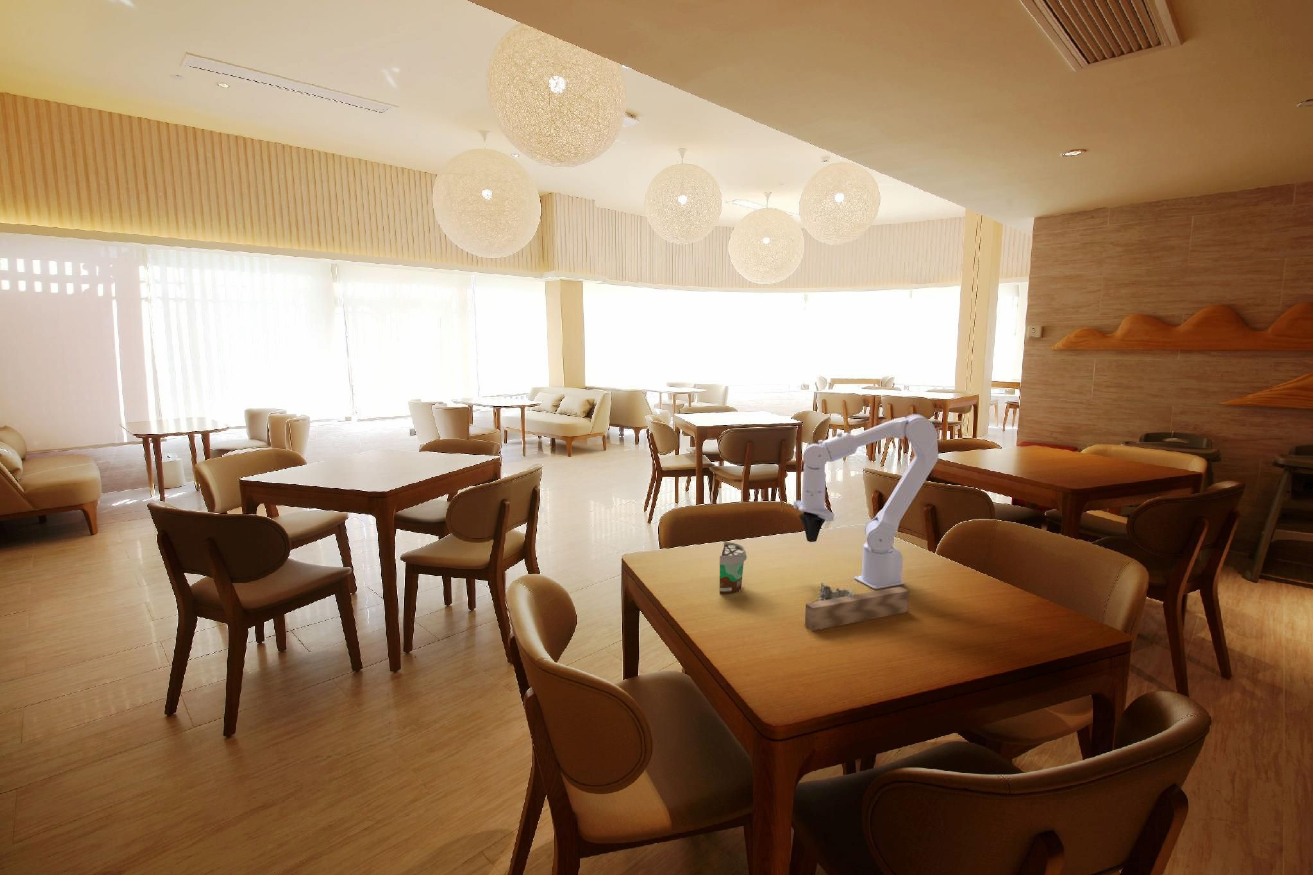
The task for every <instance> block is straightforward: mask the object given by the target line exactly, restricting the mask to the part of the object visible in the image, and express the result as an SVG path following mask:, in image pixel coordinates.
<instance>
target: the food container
mask: <svg viewBox="0 0 1313 875" xmlns="http://www.w3.org/2000/svg"><path fill="white" fill-rule="evenodd" d="M747 558H748V556H747V552H746V550H745V547H744V546H742V545H740V544H739V543H735V542H732V541H723V549H722V552H721V555H719V595H731V594H736V593H738V592H740V591H741V590H742V583H743V573H744V565H745V562H746V560H747Z"/></svg>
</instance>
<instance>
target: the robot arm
mask: <svg viewBox="0 0 1313 875" xmlns="http://www.w3.org/2000/svg"><path fill="white" fill-rule="evenodd" d="M835 434H836V436H833V437H829V438H828V439H825V440H823V439H819V440H818V442H817V443H811V444H809V445H807V446H806V448H805V449H804V450H803V454H802V457H803V458H802V459H803V462H804V464H803V472H802V490H801V492H802V493H801V494H802V495H801V500H793V508H794V509H797V510H798V511H799V512H803V513H800V514H798V517H799V519H800V520H801V522H802V526H803V529H804V533H805V537H806V538H805V539H806V541H807V542H809V543H815V542H817V540H818V538H819V533H820V531H821V529H822V527H823V525H824V523H825V522H833V521H835V517H834V516H835V513H833V512H831V511H830V510H829V509H828V508H826V507H825V503H826V502H825V500H826V479H827V478H826V476H827V475H826V474H827V473H826V472H825V470H826V468H825V467H826V464H827V462H829V463H832V462H835V461H837V460H840V459H843V458H846V457H849V456H852V455H855V454H856V452H857V450H858V448H859V447H862V446H866V445H869V444H872V443H875V442H879V441H882V440H884V439H889V438H894V439H900V440H905V437H906V439H907V440H908V441H909V442H910V445H911V448H912V452H913V453H914V456H913V458H912V460H911V462H910V463H909V465H908V467H907V468H906V469H905V471H904V473H903V474H902V476H901V478H900V479H899V481H898V482H897V485H896V486H895V487H894V489H893V491H892V493H891V494H890V496H889V497H888V499H887V501H886V502H885V504H884V505H883V508H882V509H880V510H879V511H878V512H877V514H876V515H875V516H874V517H873V518H872V519H870V520H869V521H868V522H867V523H866V524H865V527H864V534H865V536H866V542H864V544H862V545H863V547H862V562H861V563H862V564H861V565H862V567H861V575H855V576H854V577H853V579H855V580H857V581H859V582H860V583H863V584H864V585H867V586H868V587H870V588H873V589H875V590H877V589H883V588H889V587H894V586H900V585H904V584H905V582H904V581H903V580H902V578H903V566H904V565H903V563H904V561H903V560H904V558H903V555H902V552H901V550H900V549H899V548H898V547H896V546H894V543H895V535H896V533H897V531H898V529H899V527H900V526H899V525H900V524H901V520H902V518H903V516H904V515H905V513H906V512H907V510H908V509H909V507H910V505H911V503H912V502H913V500H914V499H915V497H916V496H917V494H918V492H919V491H920V489H921V488H922V486H923V484H924V483H925V482H926V480H927V478H928V476H929V475H930V473H931V472H932V470H933V468H934V467H935V465H936V464H937V462H938V459H939V448H938V446H939V444H938V438H939V437H938V436H939V434H938V432H937V430H936V428H935V426H934V424H933V422H932V421H931V420H930V419H928V418H927V417H925V416H923V415H922V414H919V413H913V414H909V415H907V416H906V417H905V416H902V417H897V418H895V419H891V420H888V421H886V422H882V423H881V424H878V425H875V426H873V427H871V428H868V429H866V430H863V431H861V432H859V433H856V434H851V433H848V432H844V433H843V432H842V431H840V432H837V433H835Z"/></svg>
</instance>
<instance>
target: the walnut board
mask: <svg viewBox="0 0 1313 875" xmlns="http://www.w3.org/2000/svg"><path fill="white" fill-rule="evenodd" d="M909 596H910V590H908V589H907V588H904V587H902V586H897V587H891V588H886V589H881V590H876V591H875V590H874V591H870V592H864V593H858V594H853V595H852V596H846V597H840V598H835V599H830V598H828V599H826V600H824V601H820V600H818V601H812V602H807V603H805V615H804V626H805V627H806V628H807V629H809V630H810V629H811V630H810V631H813V632H814V631H818V630H817V629H819V630H823V628H824V629H829V628H834V627H837V626H838V627H839V626H842V625H848V624H853V623H857V622H858V623H859V622H862V621H868V620H873V619H878V618H883V617H889V616H894V615H898V614H904V613H907V612H908V611H909Z"/></svg>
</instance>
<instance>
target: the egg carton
mask: <svg viewBox="0 0 1313 875" xmlns="http://www.w3.org/2000/svg"><path fill="white" fill-rule="evenodd" d="M819 589H820V590H819V596H818V599H819V600H818V601H824V600H827V599H835V598H840V597H846V596H852V595H854V591H853V590H852V589H849V590H848V589H845V588H844V589H840V588H836V589H835V590H832V588H831V586H830V585H825V584H824V583H823V582H821V583H820V588H819Z"/></svg>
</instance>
